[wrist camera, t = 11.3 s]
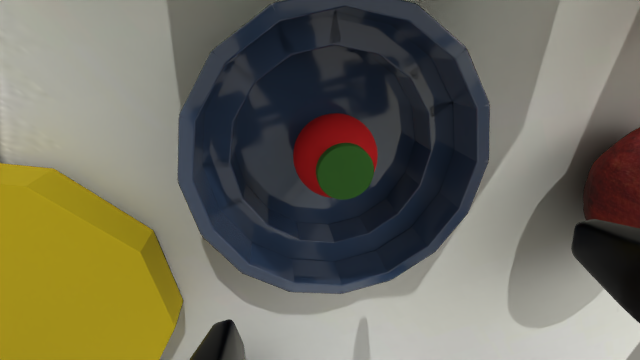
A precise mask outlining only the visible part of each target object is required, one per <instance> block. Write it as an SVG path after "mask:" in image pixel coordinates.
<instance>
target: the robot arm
mask: <svg viewBox="0 0 640 360" xmlns="http://www.w3.org/2000/svg"><path fill="white" fill-rule="evenodd" d="M572 253H573V255H574V257H575V258H576V259H577V260H578V261H579V262H580V263H581V264H582V265H583V266H584V268H585V269H586V270H587V271H588V272H589V273H590V274H591V275H592V276H593V277H594V278H595V279H596V280H597V281H598V282H599V283H600V284H601V285H602V287H603V288H604V289H605V290H606V291H607V292H608V293H609V294H610V295H611V296H612V297H613V298H614V299H615V300H616V301H617V302H618V303H619V304H620V305H621V306H622V307H623V308H624V309H625V310H626V311H627V312H628V313H629V314H630V315H631V316H632V317H633V318H634V319H636V320H637V321H638V322H639V323H640V228H636V227H631V226H626V225H622V224H617V223H612V222H607V221H603V220H598V219H590V220H586V221H583V222H579V223H577V224H576V226H575V228H574V234H573V241H572ZM190 360H245V352H244V345H243V342H242V339H241V337H240V335H239V333H238V330H237V328H236V326H235V324H234V322H233V321H232V320H225V321H222V322H218V323H216V324H214V325H213V326H212V328H211V329H210V331H209V332H208V334H207V335H206V337H205V338H204V339H203V341H202V342H201V344H200V345H199V347H198V348H197V350H196V351H195V353H194V354H193V355H192V357H191V358H190Z"/></svg>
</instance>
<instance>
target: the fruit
mask: <svg viewBox="0 0 640 360" xmlns="http://www.w3.org/2000/svg"><path fill="white" fill-rule="evenodd" d="M583 203H584V207H583V210H584V215H585V219H586V220H590V219H598V220H603V221H607V222H612V223H617V224H622V225H626V226H631V227H636V228H640V128H638V129H636V130H634V131H632V132H631V133H629V134H628V135H626V136H625V137H624V138H622V139H621V140H619V141H618V142H616V143H615V144H614V145H613V146H611V147H610V148H609V149H608V150H607V151H605V152H604V153H603V154H602V155H601V156H600V157H599V158H598V159H597V160H596V161H595V162H594V163H593V165H592V167H591V169H590V171H589V174H588V177H587V181H586V184H585V187H584V193H583Z"/></svg>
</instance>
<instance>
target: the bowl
mask: <svg viewBox="0 0 640 360" xmlns="http://www.w3.org/2000/svg"><path fill="white" fill-rule="evenodd" d="M333 113H339V114H345V115H349V116H351V117H354V118H356V119H357V120H359V121H360V122H362V123H363V124H364V125H365V126H366V127H367V128H368V129H369V131H370V132H371V134H372V135H373V137H374V140H375V143H376V146H377V153H378V157H377V165H376V168H375V171H374V175H373V179H372V181H371V184H370V185H369V187H368V188H367V189H366V190H365V191H364V192H363V193H362V194H360V195H359V196H357V197H355V198H351V199H346V200H340V199H335V198H330V197H325V196H321V195H319V194H317V193H315V192H313V191H311V190H310V189H309V188H308V187H307V186H306V185H305V184H304V183H303V182H302V181H301V179H300V178H299V176H298V174H297V172H296V169H295V166H294V161H293V151H294V145H295V142H296V139H297V137H298V135H299V134H300V132H301V131H302V129H303V128H304V127H305V126H306V125H307V124H308V123H309V122H310V121H312V120H314V119H315V118H317V117H319V116H322V115H326V114H333ZM489 122H490V105H489V101H488V98H487V96H486V93H485V91H484V89H483V86H482V84H481V81H480V79H479V77H478V74H477V72H476V69H475V67H474V65H473V62H472V60H471V57H470V55H469V53H468V50H467V49H466V47H465V46H464V45H463V44H462V43H461V42H460V41H459V40H458V39H456V38H455V37H454V36H453V35H452V34H451V33H450V32H448V31H447V30H446V29H445V28H444V27H443V26H442V25H440V24H439V23H438V22H437V21H436V20H435V19H434V18H432V17H431V16H430V15H429V14H428V13H427V12H426V11H424V10H423V9H422V8H421V7H420V6H419V5H416V4H415V3H412V2H408V1H404V0H283V1H278V2H274V3H273V4H270V5H268V6H267V7H266V8H265V9H263V10H262V11H261V12H260V13H258V14H257V15H256V16H254V17H253V18H252V19H251V20H249V21H248V22H247V23H246V24H244V25H243V26H242V27H241V28H239V29H238V30H237V31H235V32H234V33H233V34H232V35H230V36H229V37H228V38H227V39H225V40H224V41H223V42H222V43H220V44H219V45H218V46H216V47H215V48H214V49H213V50H212V52H210V54H209V56H208V58H207V60H206V62H205V64H204V66H203V68H202V70H201V72H200V74H199V76H198V78H197V80H196V82H195V84H194V86H193V88H192V90H191V92H190V94H189V96H188V98H187V100H186V102H185V104H184V106H183V108H182V110H181V112H180V114H179V127H178V178H177V180H178V184H179V186H180V188H181V190H182V193H183V195H184V197H185V200H186V202H187V204H188V206H189V209H190V211H191V213H192V215H193V218H194V220H195V222H196V225H197V227H198V229H199V231H200V234H201V235H202V237H203V238H204V239H205V240H206V241H208V242H209V243H210V244H211V245H212V246H213V247H214V248H215V249H216V250H217V251H218V252H219V253H221V254H222V255H223V256H224V257H225V258H226V259H227V260H228V261H229V262H230V263H231V264H232V265H234V266H235V267H236V268H237V269H238V270H239V271H240V272H242V273H243V274H245V275H248V276H250V277H253V278H256V279H258V280H261V281H263V282H266V283H268V284H271V285H273V286H276V287H278V288H281V289H284V290H286V291H289V292H290V291H291V292H302V293H328V294H341V293H342V294H343V293H347V292H351V291H354V290H358V289H361V288H365V287H369V286H372V285H376V284H379V283H383V282H387V281H390V279H391V280H392V279H394V278H395V277H397V276H398V275H400V274H401V273H403V272H405V271H406V270H408V269H409V268H411V267H412V266H414V265H416V264H417V263H419V262H420V261H422V260H423V259H425V258H427V257H428V256H430V255H431V254H433V253H434V252H436V250H437V249H438V248H439V247H440V246H441V244H442V243H443V242H444V241H445V240H446V239H447V237H448V236H449V235H450V234H451V233H452V231H453V230H454V229H455V228H456V227H457V225H458V224H459V223H460V222H461V221H462V220H463V218H464V217H465V216H466V215H467V214H468V211H469V210H470V207H471V205H472V202H473V200H474V197H475V195H476V192H477V190H478V187H479V185H480V182H481V179H482V177H483V174H484V172H485V169H486V167H487V164H488V160H489Z"/></svg>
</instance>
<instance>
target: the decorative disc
mask: <svg viewBox="0 0 640 360" xmlns="http://www.w3.org/2000/svg"><path fill="white" fill-rule="evenodd" d="M182 303H183V299H182V297H181V294H180V292H179V290H178V287H177V285H176V283H175V280H174V278H173V276H172V273H171V271H170V269H169V266H168V264H167V262H166V259H165V257H164V255H163V252H162V250H161V248H160V245H159V243H158V241H157V238H156V236H155V234H154V231H153V230H152V229H150V228H149V227H147V226H145V225H144V224H142V223H141V222H139V221H137V220H136V219H134V218H133V217H131V216H129V215H128V214H126V213H125V212H123V211H121V210H120V209H118V208H116V207H115V206H113V205H112V204H110V203H108V202H107V201H105V200H104V199H102V198H100V197H99V196H97V195H95V194H94V193H92V192H91V191H89V190H87V189H86V188H84V187H83V186H81V185H79V184H78V183H76V182H75V181H73V180H71V179H70V178H68V177H66V176H65V175H63V174H62V173H60V172H58V171H57V170H55V169H52V168H42V167H32V166H22V165H12V164H1V163H0V360H159V359H160V357H161V355H162V353H163V351H164V349H165V347H166V345H167V343H168V341H169V339H170V337H171V335H172V333H173V331H174V329H175V326H176V323H177V320H178V316H179V313H180V310H181V307H182Z"/></svg>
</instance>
